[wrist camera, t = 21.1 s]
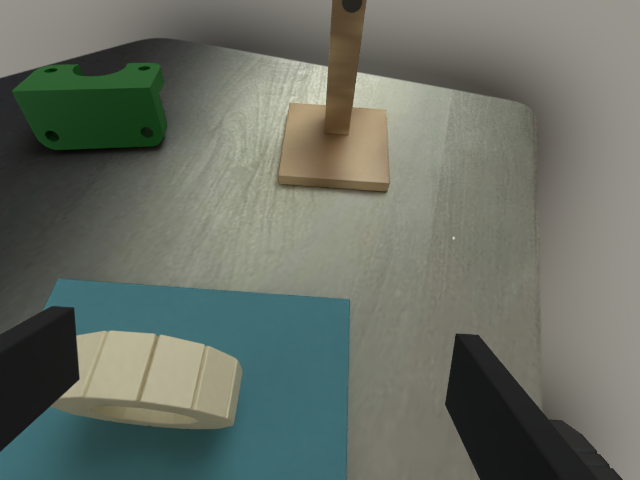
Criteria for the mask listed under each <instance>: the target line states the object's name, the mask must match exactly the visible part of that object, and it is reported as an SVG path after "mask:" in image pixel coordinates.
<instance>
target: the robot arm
mask: <svg viewBox="0 0 640 480" xmlns="http://www.w3.org/2000/svg"><path fill="white" fill-rule="evenodd" d="M79 380H80V376H79V363H78V350H77V337H76V324H75V311H74V307H60V306H51V307H49V308H47V309H46V310H44V311H42V312H40V313H38V314H37V315H35V316H33V317H31V318H29V319H28V320H26V321H24V322H22V323H20V324H19V325H17V326H15V327H13V328H11V329H10V330H8V331H6V332H4V333H2V334H1V335H0V452H1V451H2V450H3V449H4V448H5V447H6V446H7V445H8V444H10V443H11V442H12V441H13V440H14V439H15V438H16V437H17V436H18V435H19V434H21V433H22V432H23V431H24V430H25V429H26V428H27V427H28V426H29V425H30V424H31V423H33V422H34V421H35V420H36V419H37V418H38V417H39V416H40V415H41V414H42V413H43V412H45V411H46V410H47V409H48V408H49V407H50V406H51V405H52V404H53V403H54V402H56V401H57V400H58V399H59V398H60V397H61V396H62V395H63V394H64V393H65V392H66V391H68V390H69V389H70V388H71V387H72V386H73V385H74V384H75V383H76V382H77V381H79ZM445 405H446V408H447V410H448V412H449V414H450V416H451V418H452V420H453V422H454V425H455V427H456V429H457V431H458V433H459V435H460V437H461V440H462V442H463V444H464V446H465V448H466V450H467V452H468V455H469V457H470V459H471V461H472V463H473V465H474V467H475V470H476V472H477V474H478V476H479V478H480V480H622V478H621V477H620V476H619V475H618V474H617V473H616V472H615V470H614V469H612V468H610V466H609V464H608V463H607V462H606V461H605V459H604V458H603V457H602V456H601V455H600V454H597V451H596V449H594V447H593V446H592V445H591V444H590V443H589V442H588V441H587V440H586V438H585V437H584V436H583V435H582V434H580V433H579V432H578V431H576V430H575V429H573V428H572V427H570V426H569V425H568V424H566V423H565V422H563V421H562V420H548V419H547V417H546V416H545V415H544V414H543V412H542V411H541V410H540V409H539V408H538V406H537V405H536V404H535V403H534V402H533V400H532V399H531V398H530V397H529V396H528V394H527V393H526V392H525V391H524V390H523V388H522V387H521V386H520V385H519V384H518V382H517V381H516V380H515V379H514V377H513V376H512V375H511V374H510V373H509V371H508V370H507V369H506V368H505V367H504V365H503V364H502V363H501V362H500V361H499V359H498V358H497V357H496V356H495V355H494V353H493V352H492V351H491V350H490V349H489V347H488V346H487V345H486V344H485V342H484V341H483V340H482V339H481V338H480V336H479V335H471V334H456V336H455V343H454V349H453V356H452V363H451V369H450V376H449V382H448V389H447V396H446V402H445Z"/></svg>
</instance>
